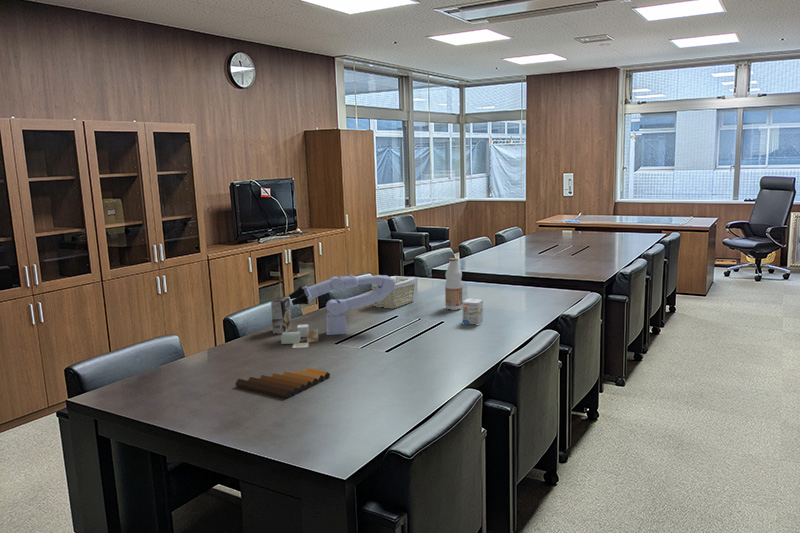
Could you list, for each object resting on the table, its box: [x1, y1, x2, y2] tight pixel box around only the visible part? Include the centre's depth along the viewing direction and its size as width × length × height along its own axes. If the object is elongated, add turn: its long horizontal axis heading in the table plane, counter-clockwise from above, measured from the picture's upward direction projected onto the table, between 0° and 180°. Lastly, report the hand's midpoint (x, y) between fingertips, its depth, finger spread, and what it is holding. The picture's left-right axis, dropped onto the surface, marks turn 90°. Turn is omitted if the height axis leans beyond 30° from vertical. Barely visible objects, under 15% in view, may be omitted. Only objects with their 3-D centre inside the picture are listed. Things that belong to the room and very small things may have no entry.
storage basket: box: [371, 275, 416, 310], centre depth 355 cm, size 24×16×15 cm
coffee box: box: [270, 297, 292, 335], centre depth 304 cm, size 9×6×16 cm
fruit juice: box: [444, 257, 463, 311], centre depth 340 cm, size 9×9×28 cm
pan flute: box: [235, 367, 331, 400], centre depth 234 cm, size 25×3×25 cm
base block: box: [280, 331, 301, 345], centre depth 287 cm, size 8×8×4 cm
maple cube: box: [306, 328, 319, 343], centre depth 287 cm, size 5×5×5 cm
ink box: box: [461, 298, 484, 325], centre depth 311 cm, size 9×8×12 cm
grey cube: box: [296, 323, 309, 338], centre depth 296 cm, size 5×5×5 cm
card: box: [292, 342, 310, 349], centre depth 281 cm, size 7×7×1 cm
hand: (290, 300), depth 292 cm, fingers open, 7 cm apart
